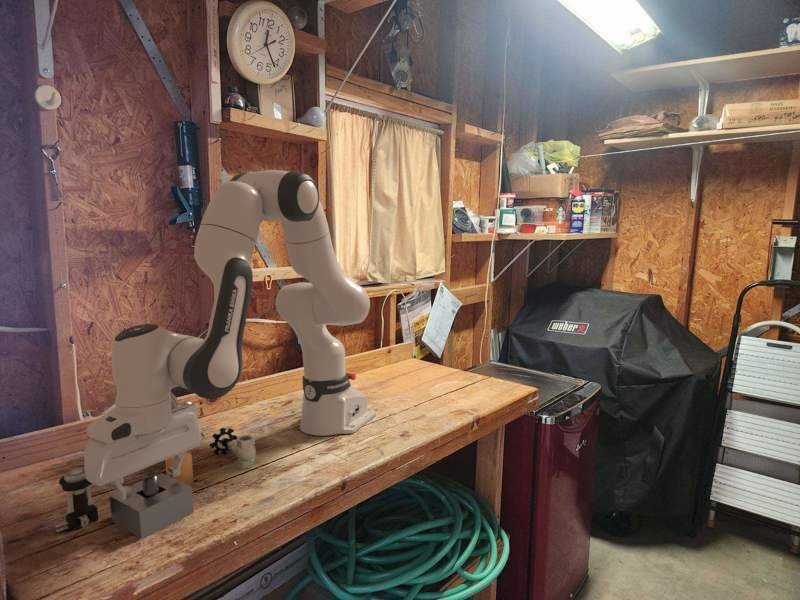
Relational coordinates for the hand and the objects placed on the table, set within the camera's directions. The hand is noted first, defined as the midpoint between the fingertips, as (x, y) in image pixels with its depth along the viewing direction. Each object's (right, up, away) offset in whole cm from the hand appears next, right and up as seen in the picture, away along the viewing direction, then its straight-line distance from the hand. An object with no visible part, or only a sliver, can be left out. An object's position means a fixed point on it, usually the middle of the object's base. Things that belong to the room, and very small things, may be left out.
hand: (151, 486), depth 92 cm
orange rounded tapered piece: (0, -4, +13) cm, 14 cm away
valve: (+8, -3, +23) cm, 25 cm away
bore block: (0, -6, +1) cm, 6 cm away
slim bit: (0, -6, +1) cm, 6 cm away
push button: (-12, -7, -2) cm, 14 cm away
